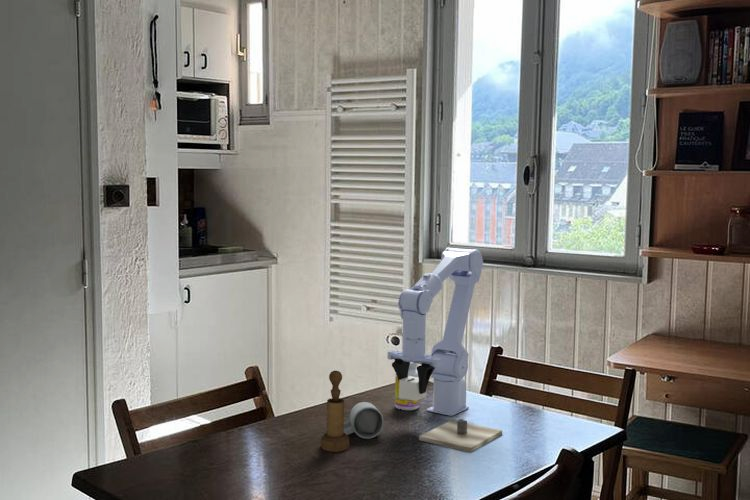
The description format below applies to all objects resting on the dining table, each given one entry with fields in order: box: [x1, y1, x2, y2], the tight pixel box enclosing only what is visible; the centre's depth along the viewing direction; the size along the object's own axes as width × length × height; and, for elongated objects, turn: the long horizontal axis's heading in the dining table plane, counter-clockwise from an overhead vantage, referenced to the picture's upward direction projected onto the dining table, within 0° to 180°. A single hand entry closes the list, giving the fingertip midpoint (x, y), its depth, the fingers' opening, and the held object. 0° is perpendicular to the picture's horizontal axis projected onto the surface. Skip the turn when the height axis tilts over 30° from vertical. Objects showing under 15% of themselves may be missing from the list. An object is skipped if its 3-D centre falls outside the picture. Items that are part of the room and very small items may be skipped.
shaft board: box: [418, 419, 503, 453], centre depth 199 cm, size 16×14×4 cm
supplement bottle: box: [394, 362, 420, 411], centre depth 223 cm, size 7×7×13 cm
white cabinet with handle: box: [399, 376, 428, 401], centre depth 206 cm, size 5×5×5 cm
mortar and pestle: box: [320, 370, 350, 453], centre depth 190 cm, size 7×6×18 cm
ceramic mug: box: [343, 401, 385, 440], centre depth 201 cm, size 11×8×8 cm
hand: (413, 391), depth 207 cm, fingers closed on white cabinet with handle, 5 cm apart
